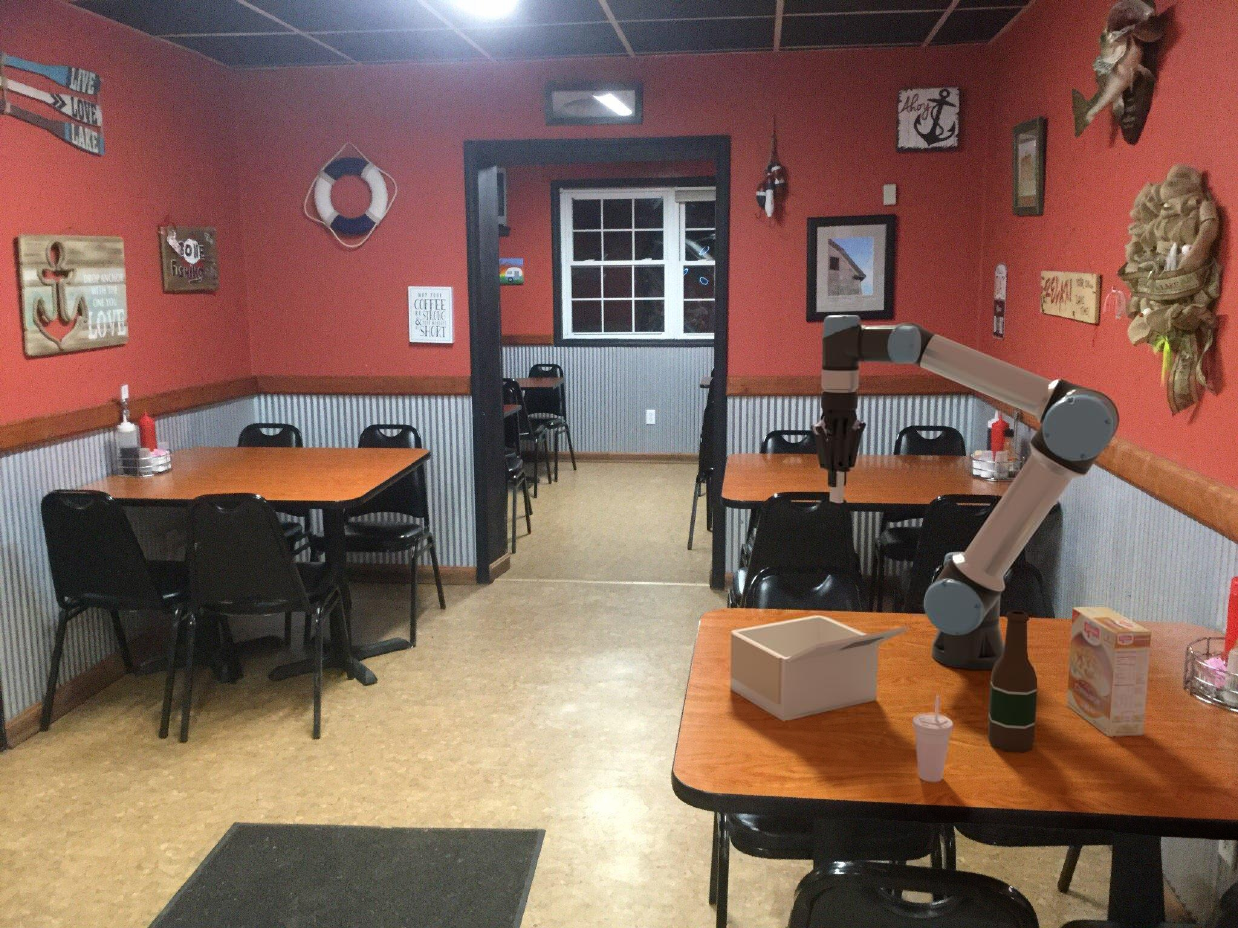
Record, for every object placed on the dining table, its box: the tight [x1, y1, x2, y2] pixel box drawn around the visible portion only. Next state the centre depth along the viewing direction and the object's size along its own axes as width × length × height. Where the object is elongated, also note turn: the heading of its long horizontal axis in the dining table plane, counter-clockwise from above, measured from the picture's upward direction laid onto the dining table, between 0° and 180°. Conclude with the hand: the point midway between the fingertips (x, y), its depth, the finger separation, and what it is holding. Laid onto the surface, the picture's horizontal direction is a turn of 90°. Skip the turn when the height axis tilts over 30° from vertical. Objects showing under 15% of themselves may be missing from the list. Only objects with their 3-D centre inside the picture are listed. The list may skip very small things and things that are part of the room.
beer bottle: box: [987, 609, 1038, 754], centre depth 185 cm, size 8×8×24 cm
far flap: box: [787, 626, 910, 662], centre depth 196 cm, size 10×21×1 cm, turn 116°
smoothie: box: [911, 694, 954, 783], centre depth 174 cm, size 6×6×14 cm
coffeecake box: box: [1065, 606, 1152, 738], centre depth 196 cm, size 15×7×20 cm, turn 5°
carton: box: [729, 614, 879, 722], centre depth 210 cm, size 19×23×12 cm
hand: (836, 501), depth 226 cm, fingers closed
